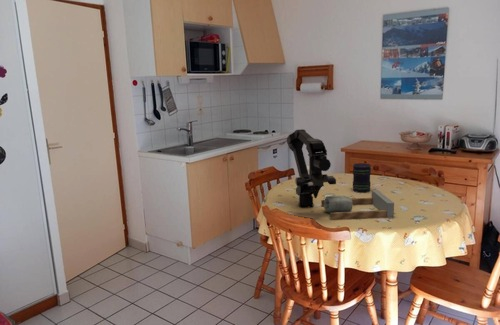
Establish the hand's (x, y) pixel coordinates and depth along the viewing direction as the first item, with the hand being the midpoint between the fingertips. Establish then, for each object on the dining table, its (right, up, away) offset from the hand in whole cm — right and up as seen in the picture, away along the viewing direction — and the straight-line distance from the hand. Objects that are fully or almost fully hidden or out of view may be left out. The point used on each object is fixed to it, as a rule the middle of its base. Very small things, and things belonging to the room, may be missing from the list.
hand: (315, 197), depth 186 cm
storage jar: (+33, +1, +35) cm, 48 cm away
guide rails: (+18, -7, +2) cm, 20 cm away
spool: (+11, -7, +2) cm, 14 cm away
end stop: (+33, -6, +2) cm, 33 cm away
